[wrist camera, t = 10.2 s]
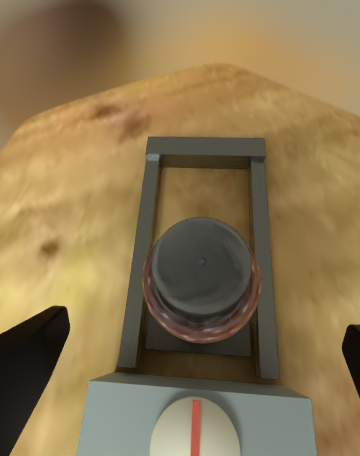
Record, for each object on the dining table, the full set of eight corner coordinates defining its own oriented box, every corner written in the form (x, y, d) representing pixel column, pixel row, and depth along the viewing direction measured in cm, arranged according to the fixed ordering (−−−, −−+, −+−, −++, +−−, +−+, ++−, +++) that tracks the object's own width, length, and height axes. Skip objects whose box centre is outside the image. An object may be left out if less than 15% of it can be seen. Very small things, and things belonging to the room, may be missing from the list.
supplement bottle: (201, 249, 23) (207, 169, 12) (254, 304, 21) (315, 265, 10) (145, 298, 21) (98, 254, 11) (196, 361, 19) (198, 383, 9)
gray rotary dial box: (289, 477, 17) (332, 538, 12) (101, 457, 18) (61, 506, 12) (282, 385, 19) (317, 402, 14) (113, 372, 20) (83, 382, 14)
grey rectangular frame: (273, 376, 19) (281, 380, 17) (123, 364, 20) (115, 367, 18) (259, 152, 27) (264, 138, 25) (151, 150, 27) (148, 136, 26)
